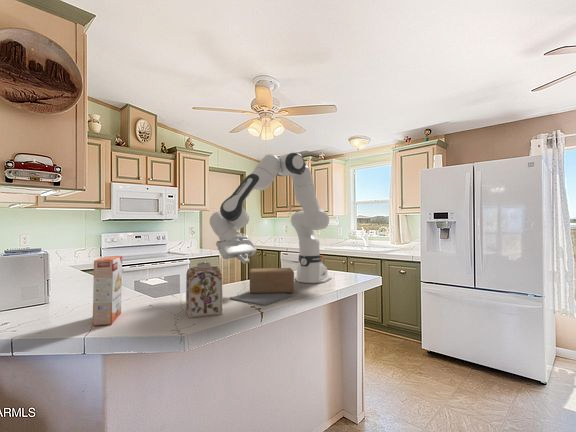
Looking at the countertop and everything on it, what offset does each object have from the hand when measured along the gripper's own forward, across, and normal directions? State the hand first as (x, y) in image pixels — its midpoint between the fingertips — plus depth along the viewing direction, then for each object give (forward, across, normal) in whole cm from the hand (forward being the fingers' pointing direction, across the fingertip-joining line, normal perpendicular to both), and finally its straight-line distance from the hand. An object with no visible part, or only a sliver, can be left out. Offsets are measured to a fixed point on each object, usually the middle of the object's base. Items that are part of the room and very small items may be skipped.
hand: (246, 262), depth 142 cm
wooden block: (+5, +3, +7) cm, 9 cm away
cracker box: (0, -53, +21) cm, 57 cm away
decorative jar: (+14, -29, +7) cm, 33 cm away
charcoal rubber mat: (+16, 0, +4) cm, 17 cm away
